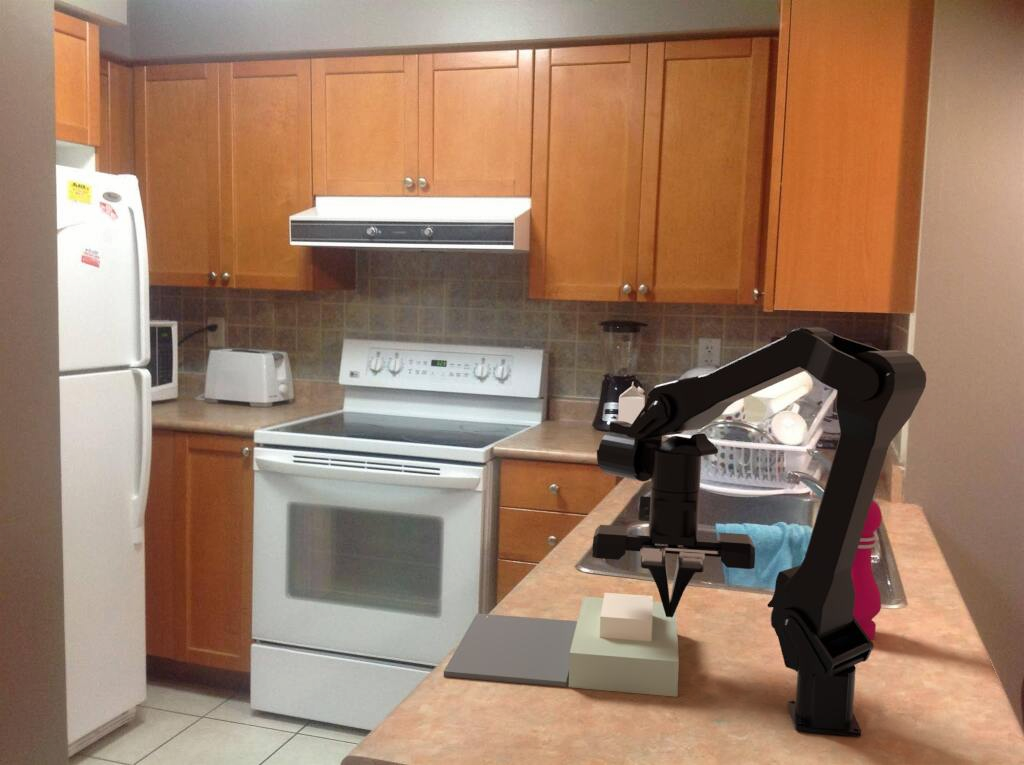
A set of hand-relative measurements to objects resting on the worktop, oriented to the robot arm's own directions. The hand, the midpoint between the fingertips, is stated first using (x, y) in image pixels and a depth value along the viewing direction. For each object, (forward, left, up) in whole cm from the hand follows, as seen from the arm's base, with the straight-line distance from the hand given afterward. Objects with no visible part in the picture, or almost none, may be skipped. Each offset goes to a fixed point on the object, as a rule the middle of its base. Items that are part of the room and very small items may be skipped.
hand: (669, 616), depth 114 cm
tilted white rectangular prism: (0, +5, 0) cm, 5 cm away
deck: (0, +5, -6) cm, 8 cm away
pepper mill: (+15, -24, -6) cm, 29 cm away
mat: (0, +18, -6) cm, 19 cm away
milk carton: (+157, +9, -6) cm, 157 cm away
